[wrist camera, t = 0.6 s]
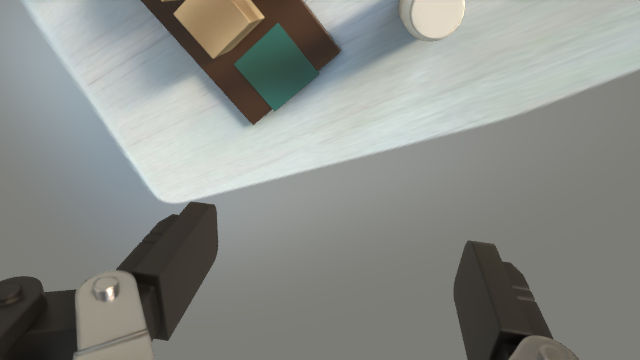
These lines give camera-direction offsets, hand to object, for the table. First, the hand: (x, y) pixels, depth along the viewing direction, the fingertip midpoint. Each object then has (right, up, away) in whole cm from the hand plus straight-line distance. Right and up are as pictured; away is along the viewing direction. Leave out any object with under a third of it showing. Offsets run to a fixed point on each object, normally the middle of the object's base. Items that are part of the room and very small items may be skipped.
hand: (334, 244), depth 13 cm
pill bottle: (+8, +17, +21) cm, 28 cm away
